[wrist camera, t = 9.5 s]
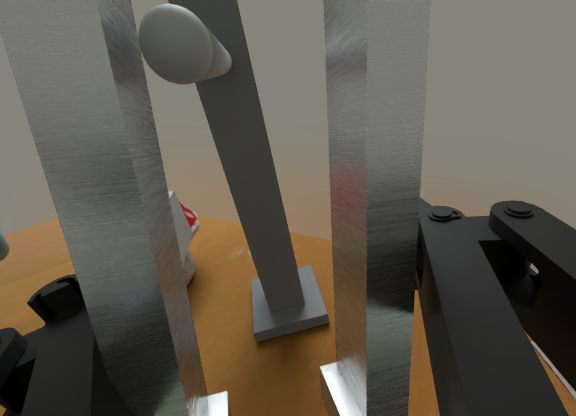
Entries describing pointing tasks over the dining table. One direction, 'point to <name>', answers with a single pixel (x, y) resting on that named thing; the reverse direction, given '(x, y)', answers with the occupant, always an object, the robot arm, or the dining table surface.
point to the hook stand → (237, 149)
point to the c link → (158, 214)
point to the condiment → (556, 371)
